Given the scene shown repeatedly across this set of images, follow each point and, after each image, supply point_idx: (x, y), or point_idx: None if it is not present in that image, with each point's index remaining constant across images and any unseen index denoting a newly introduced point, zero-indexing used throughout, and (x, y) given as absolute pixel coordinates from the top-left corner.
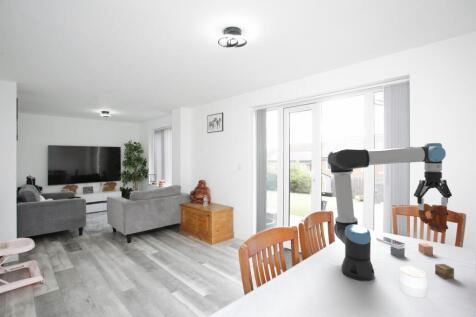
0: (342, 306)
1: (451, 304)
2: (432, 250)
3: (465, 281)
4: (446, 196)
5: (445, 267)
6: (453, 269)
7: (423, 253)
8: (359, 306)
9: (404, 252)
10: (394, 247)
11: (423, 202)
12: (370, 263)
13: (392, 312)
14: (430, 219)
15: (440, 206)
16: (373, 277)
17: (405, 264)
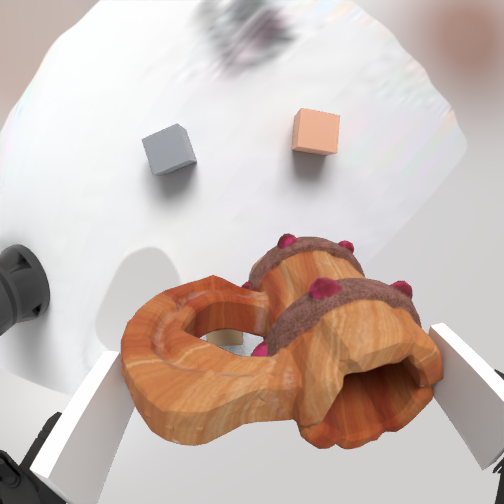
0: (12, 365)
1: None
2: (329, 153)
3: (261, 341)
4: (500, 475)
5: (219, 338)
6: (240, 342)
7: (292, 146)
8: (27, 371)
9: (193, 161)
10: (147, 156)
11: (105, 470)
12: (23, 313)
13: (60, 392)
14: (239, 329)
15: (415, 369)
16: (45, 310)
17: (153, 235)
